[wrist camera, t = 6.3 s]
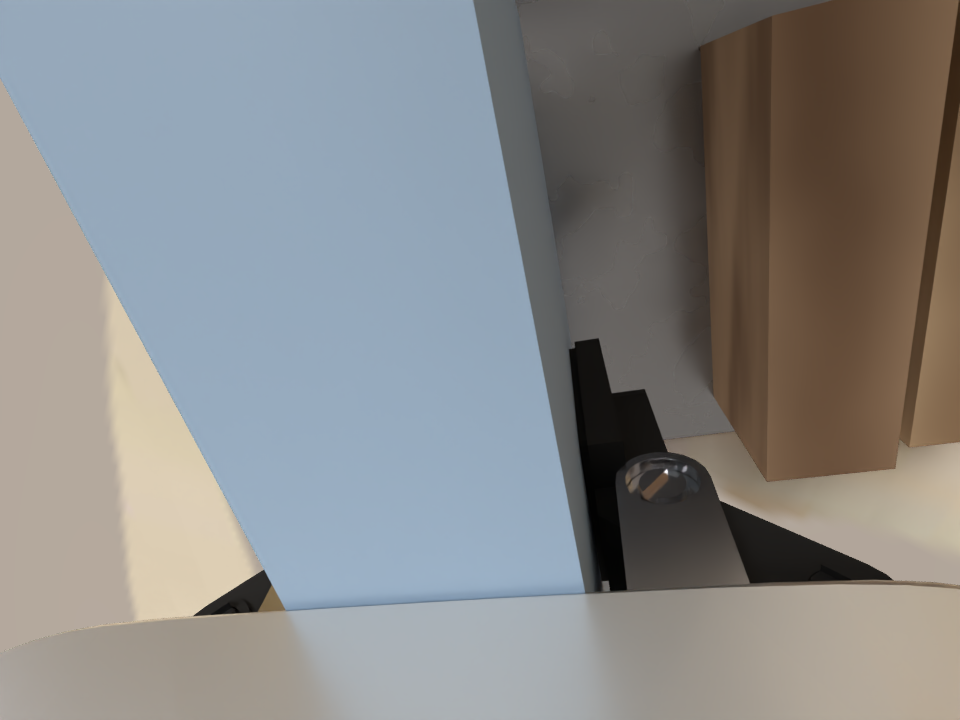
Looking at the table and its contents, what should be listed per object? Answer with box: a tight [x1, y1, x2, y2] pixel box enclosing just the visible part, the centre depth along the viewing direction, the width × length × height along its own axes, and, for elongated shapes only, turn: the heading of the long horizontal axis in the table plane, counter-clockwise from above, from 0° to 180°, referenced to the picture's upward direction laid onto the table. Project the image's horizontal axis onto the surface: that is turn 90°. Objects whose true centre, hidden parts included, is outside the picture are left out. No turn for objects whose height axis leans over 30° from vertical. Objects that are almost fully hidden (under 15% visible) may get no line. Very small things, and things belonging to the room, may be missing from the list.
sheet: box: [0, 0, 610, 611], centre depth 10 cm, size 2×16×11 cm, turn 12°
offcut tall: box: [700, 0, 959, 482], centre depth 17 cm, size 4×14×6 cm, turn 12°
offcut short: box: [899, 0, 960, 447], centre depth 17 cm, size 4×14×5 cm, turn 12°
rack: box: [515, 0, 831, 440], centre depth 17 cm, size 25×21×9 cm
